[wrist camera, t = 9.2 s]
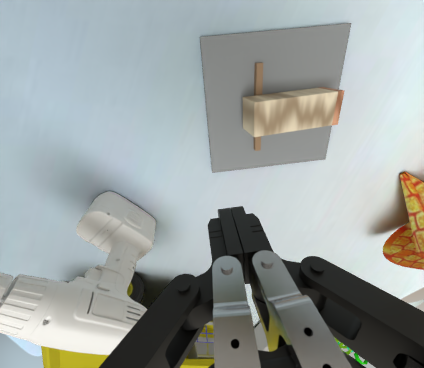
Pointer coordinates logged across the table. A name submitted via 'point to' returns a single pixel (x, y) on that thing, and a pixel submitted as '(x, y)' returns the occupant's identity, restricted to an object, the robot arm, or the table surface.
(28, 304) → the power drill
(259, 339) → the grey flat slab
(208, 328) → the toy truck
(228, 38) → the mat
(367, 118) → the table surface
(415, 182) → the sculpture
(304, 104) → the birch block
